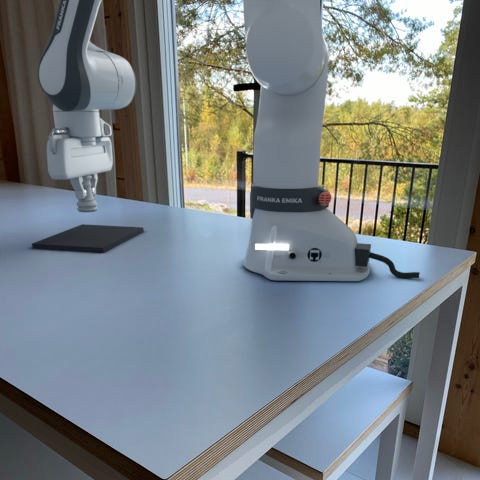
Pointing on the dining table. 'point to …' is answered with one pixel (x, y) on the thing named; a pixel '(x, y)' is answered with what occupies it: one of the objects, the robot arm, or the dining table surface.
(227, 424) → the dining table surface
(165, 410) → the dining table surface
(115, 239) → the mat
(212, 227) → the dining table surface
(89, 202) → the rook chess piece
